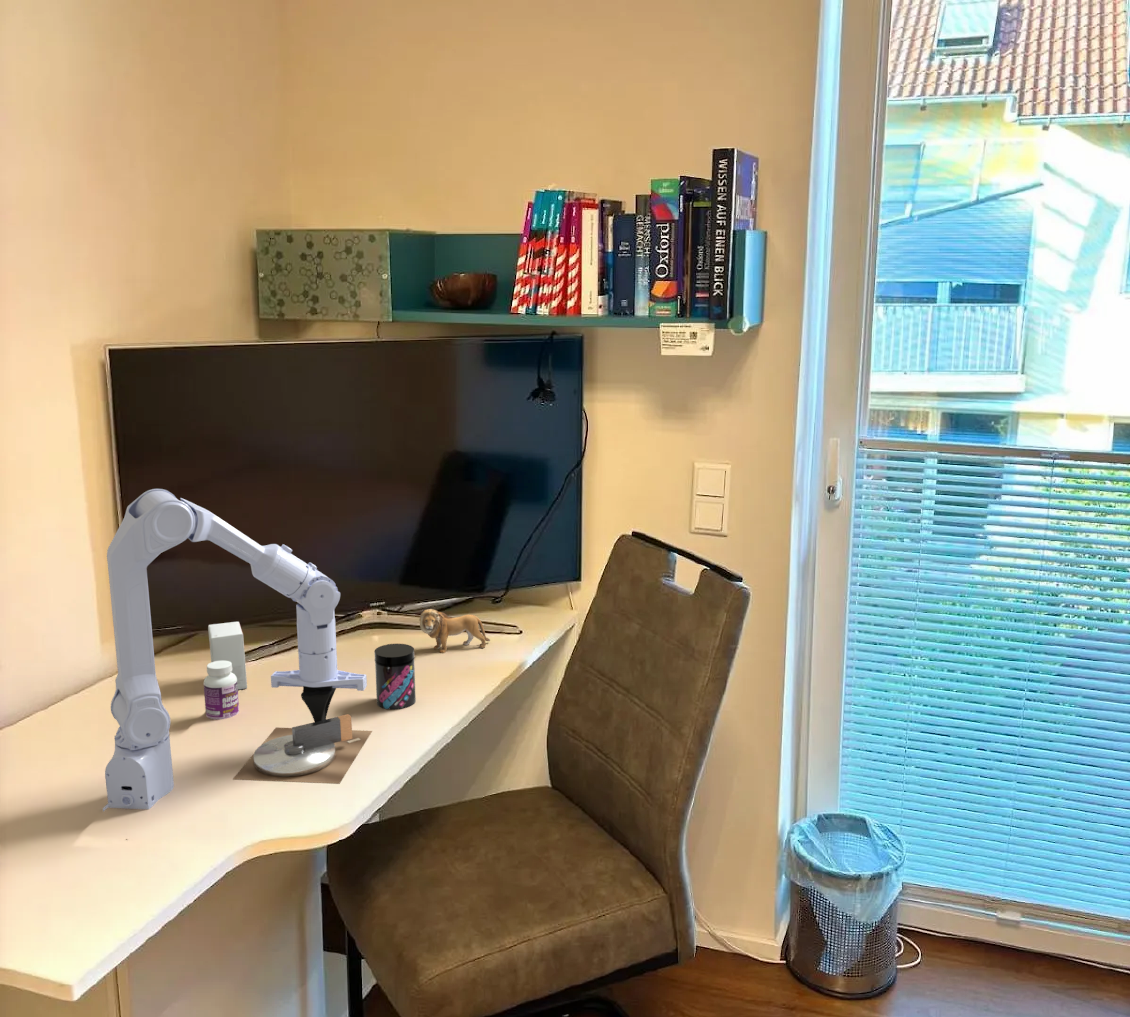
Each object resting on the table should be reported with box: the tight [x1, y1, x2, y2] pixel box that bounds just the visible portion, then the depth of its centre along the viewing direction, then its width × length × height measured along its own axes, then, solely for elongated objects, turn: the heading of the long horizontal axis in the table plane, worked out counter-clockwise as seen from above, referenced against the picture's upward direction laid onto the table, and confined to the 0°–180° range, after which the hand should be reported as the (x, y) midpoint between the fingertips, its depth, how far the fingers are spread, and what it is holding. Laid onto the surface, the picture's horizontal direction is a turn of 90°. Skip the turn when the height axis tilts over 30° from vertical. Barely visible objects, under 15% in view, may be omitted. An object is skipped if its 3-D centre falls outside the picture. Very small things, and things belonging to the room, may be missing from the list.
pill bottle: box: [203, 661, 240, 720], centre depth 177 cm, size 5×5×10 cm
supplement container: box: [373, 643, 417, 711], centre depth 181 cm, size 7×7×10 cm
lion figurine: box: [418, 608, 491, 654], centre depth 210 cm, size 15×5×9 cm, turn 117°
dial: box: [253, 713, 353, 777], centre depth 161 cm, size 15×12×5 cm
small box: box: [207, 621, 248, 691], centre depth 192 cm, size 8×6×10 cm
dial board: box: [232, 727, 373, 785], centre depth 162 cm, size 18×16×1 cm
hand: (321, 730), depth 165 cm, fingers closed
